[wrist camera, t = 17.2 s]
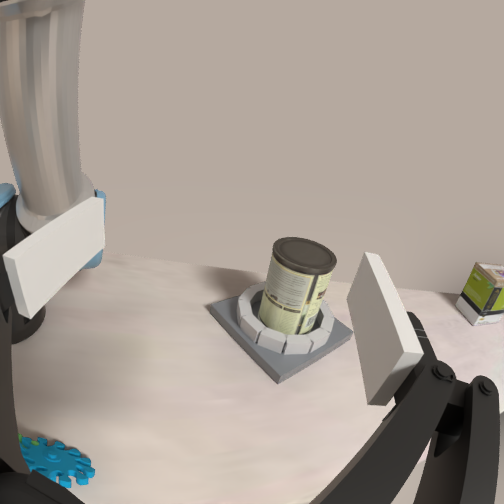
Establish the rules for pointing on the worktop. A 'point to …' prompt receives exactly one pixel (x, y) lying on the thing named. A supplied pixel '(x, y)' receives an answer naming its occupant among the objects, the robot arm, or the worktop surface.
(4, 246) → the robot arm
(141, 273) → the worktop surface
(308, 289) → the coffee can
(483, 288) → the tea box
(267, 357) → the housing
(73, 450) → the gear
